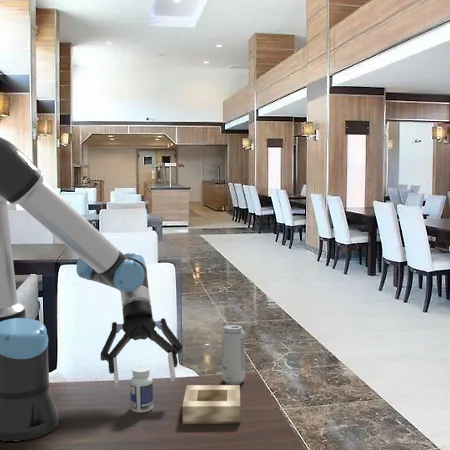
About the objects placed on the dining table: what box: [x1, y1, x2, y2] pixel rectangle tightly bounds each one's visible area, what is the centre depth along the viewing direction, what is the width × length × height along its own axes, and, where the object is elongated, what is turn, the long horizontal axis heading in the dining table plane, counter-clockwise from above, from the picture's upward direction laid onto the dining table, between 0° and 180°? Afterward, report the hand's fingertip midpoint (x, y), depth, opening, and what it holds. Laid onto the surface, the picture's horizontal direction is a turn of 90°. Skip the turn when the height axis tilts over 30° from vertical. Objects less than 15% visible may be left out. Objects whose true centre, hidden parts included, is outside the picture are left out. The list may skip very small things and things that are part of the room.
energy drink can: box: [221, 324, 246, 385], centre depth 157 cm, size 6×6×15 cm
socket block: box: [182, 384, 241, 425], centre depth 138 cm, size 13×13×4 cm
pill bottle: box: [129, 366, 154, 413], centre depth 140 cm, size 5×5×10 cm
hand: (145, 382), depth 140 cm, fingers open, 13 cm apart
